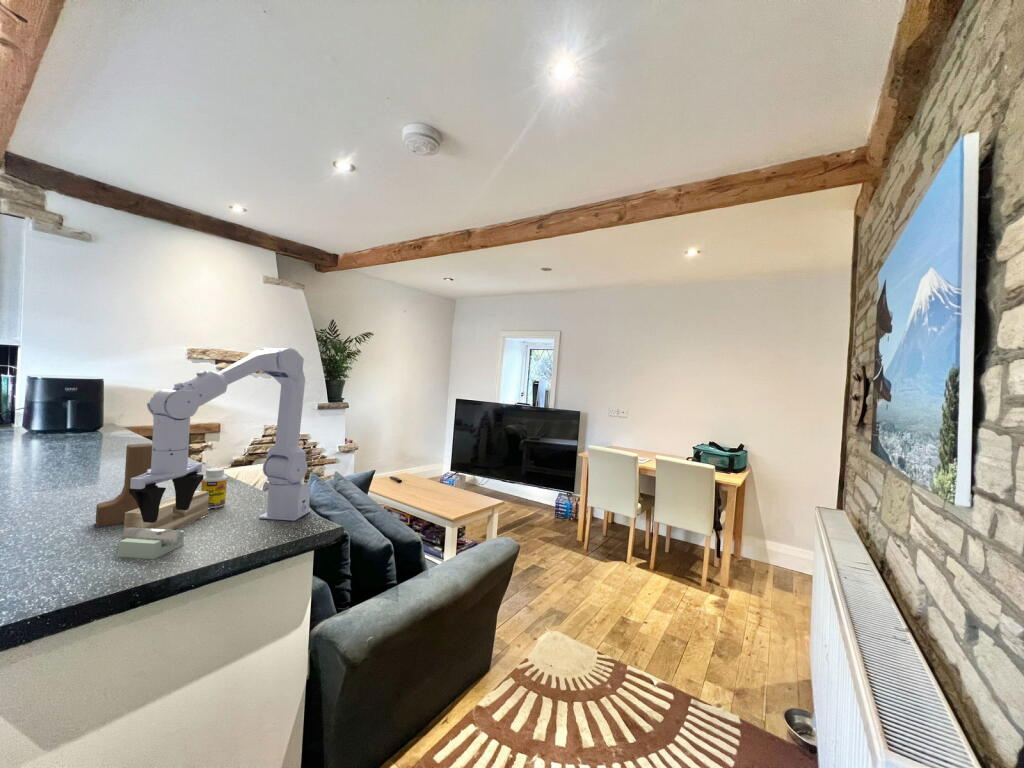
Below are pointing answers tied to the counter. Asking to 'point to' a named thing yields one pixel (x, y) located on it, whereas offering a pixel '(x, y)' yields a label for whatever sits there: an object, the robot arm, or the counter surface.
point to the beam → (171, 513)
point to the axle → (153, 535)
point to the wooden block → (125, 486)
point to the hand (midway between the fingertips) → (166, 515)
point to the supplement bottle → (215, 486)
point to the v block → (145, 548)
